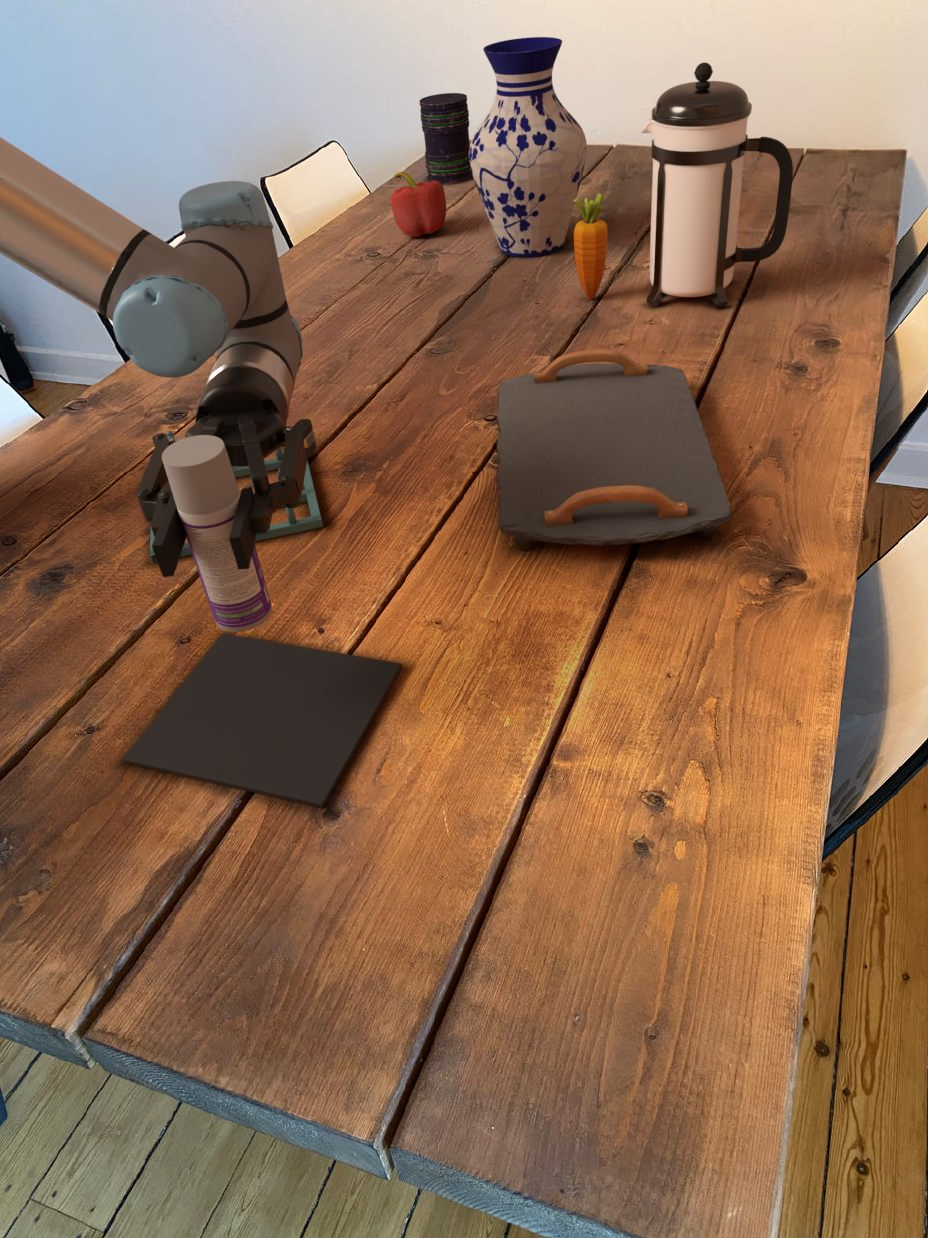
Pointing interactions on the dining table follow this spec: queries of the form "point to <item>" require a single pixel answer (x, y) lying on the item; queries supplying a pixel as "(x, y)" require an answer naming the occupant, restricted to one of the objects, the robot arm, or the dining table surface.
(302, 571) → the dining table surface
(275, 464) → the dish rack
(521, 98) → the vase
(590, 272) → the carrot
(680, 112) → the coffee press
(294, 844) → the dining table surface
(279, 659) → the mat
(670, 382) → the serving tray
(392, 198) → the vegetable
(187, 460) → the container
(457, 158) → the storage jar
